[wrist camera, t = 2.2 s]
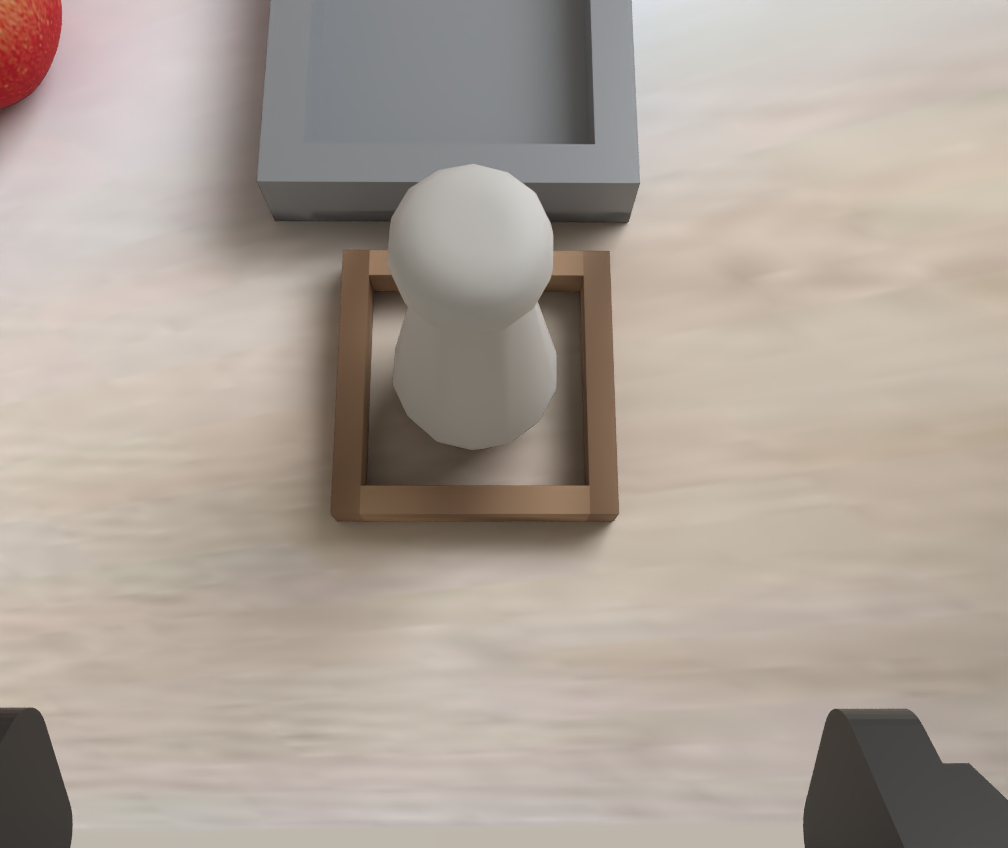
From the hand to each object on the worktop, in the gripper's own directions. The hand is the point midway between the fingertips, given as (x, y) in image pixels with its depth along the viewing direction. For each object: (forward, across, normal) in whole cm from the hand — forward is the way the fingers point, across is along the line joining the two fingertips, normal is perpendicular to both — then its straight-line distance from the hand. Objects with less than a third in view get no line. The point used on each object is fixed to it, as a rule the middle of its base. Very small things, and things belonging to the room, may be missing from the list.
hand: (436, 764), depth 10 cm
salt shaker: (+25, 0, +8) cm, 27 cm away
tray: (+36, +1, -3) cm, 36 cm away
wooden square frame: (+25, 0, +8) cm, 26 cm away
